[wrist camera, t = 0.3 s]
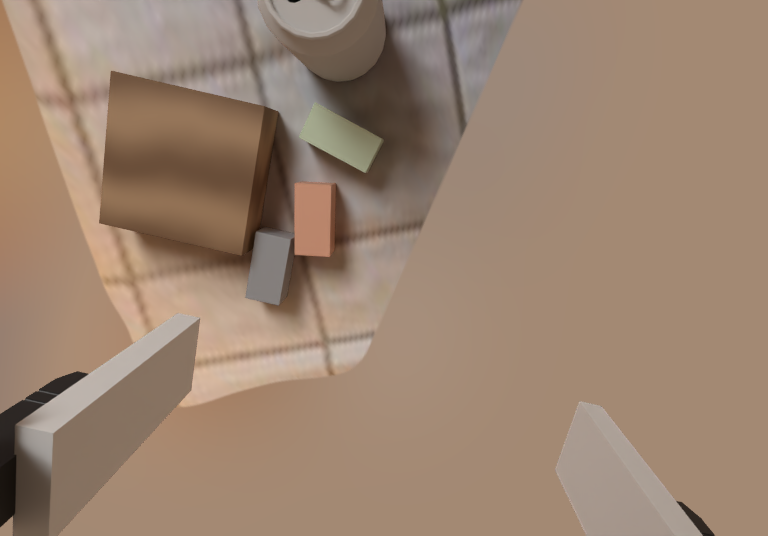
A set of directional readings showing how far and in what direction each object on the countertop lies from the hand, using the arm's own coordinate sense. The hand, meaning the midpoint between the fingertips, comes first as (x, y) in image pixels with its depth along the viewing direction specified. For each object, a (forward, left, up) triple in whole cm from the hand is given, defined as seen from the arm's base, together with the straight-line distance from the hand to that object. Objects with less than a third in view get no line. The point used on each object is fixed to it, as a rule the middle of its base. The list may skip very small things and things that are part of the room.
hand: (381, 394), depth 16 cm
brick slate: (+4, -10, -27) cm, 29 cm away
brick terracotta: (-1, -7, -27) cm, 28 cm away
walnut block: (-3, -18, -26) cm, 32 cm away
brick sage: (-8, -6, -27) cm, 29 cm away
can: (-16, -8, -27) cm, 32 cm away
